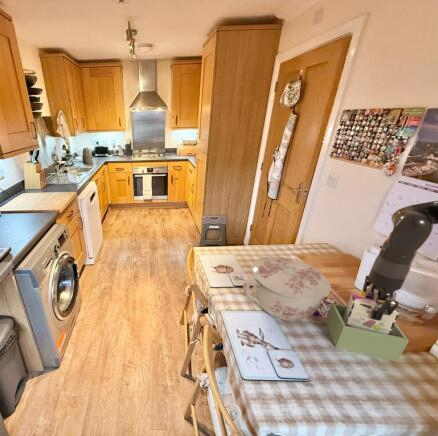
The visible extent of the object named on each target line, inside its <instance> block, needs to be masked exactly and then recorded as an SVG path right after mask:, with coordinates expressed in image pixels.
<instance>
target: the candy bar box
mask: <svg viewBox="0 0 438 436" xmlns="http://www.w3.org/2000/svg"><path fill="white" fill-rule="evenodd" d="M349 297H350V298H349V300H348V303H347V305H346V306H347V309H346V311H345V314H344V317H343V319H342V320H343V321H344V323H345V325H346V326H349V327H354V328H359V329H364V330H368V331H373V332H378V333H383V334H387V335H389V334H390V332H391V330H392V328H393V326H394V324H395V323H396V322H397V320H398V318H399V316H400V313H399V311H398V310H397V309H398V308H396V309H395V310H394V311H393V313H392V314H391V315H385V314H383V316H382V318H381V320H379V321H378V320H373V319H372V318H371V315H372V313H373V311H374V309H375V303H374V300H373V299H369V298H364V297H360V296H358V295H356V294H351V295H350V296H349ZM381 306H382V305H379V308H380V307H381Z"/></svg>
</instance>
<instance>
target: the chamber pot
mask: <svg viewBox="0 0 438 436" xmlns="http://www.w3.org/2000/svg"><path fill="white" fill-rule="evenodd" d="M250 268H251V269H250V270H251V274H252V275H253V277H250V278H248V279H246V280H245V281H244V283H243V286H242V289H243V292H244V294H245V295H246V296H247V297H248V298H250V299H251V300H253V301H255V302H256V304H257V305H258V306H260V307H261V309H263V310H264V311H265V313H268V314H269V315H271V316H272V317H274V318H276V319H279V320H282V321H286V322H298V321H302V320H305V319H307V318H310V317H312V316H313V315H314V314H315V313H316V312H317V310H318V309H319V308H320V306H321V304H322V301H323V298H326V297H327V296H328V295H329V294H330V293H331V289H332V286H331V283H330V281H329V278H327V277H326V276H325V275H324V274H323V273H322V272H321V271H319V270H318V269H316V268H315V267H314V266H312V265H309V264H308V263H305V262H303V261H301V260H297V259H293V258H289V257H285V256H284V257H283V256H265V257H261V258H258V259H256V260H254V261H253V263H252V264H251V266H250ZM250 286H252V293H250V292H249V289H250V288H251V287H250Z"/></svg>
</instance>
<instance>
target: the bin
mask: <svg viewBox="0 0 438 436" xmlns="http://www.w3.org/2000/svg"><path fill="white" fill-rule="evenodd" d="M347 306H348V305H345V304H340V303H334V302H331V304H330V307H329V309H328V312H327V314H326V317H325V321H324V324H325V326H326V329H327V331H328V333H329V335H330V338H331V340H332V342H333V345H334V347H335V348H336V349H341V350H345V351H349V352H353V353H357V354H362V355H366V356H369V357H373V358H378V359H382V360H386V361H391V362H395V363H397V362H398V361H399V359H400V358H401V356H402V354H403V352H404V351H405V349H406V348H407V345H408V344H409V342H410V340H409V339H408V337H407V336H406V334H405V333H404V332H403V331H402V329H401V328H400V327H399V325H398V324H397V323H396V322H395V324H394V326H393V328H392V330H391V332H390V334H389V335H387V334H383V333H378V332H373V331H368V330H364V329H359V328H354V327H349V326H346V325H345V323H344V321H343V320H342V319H343V317H344V314H345V311H346V309H347Z"/></svg>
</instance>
